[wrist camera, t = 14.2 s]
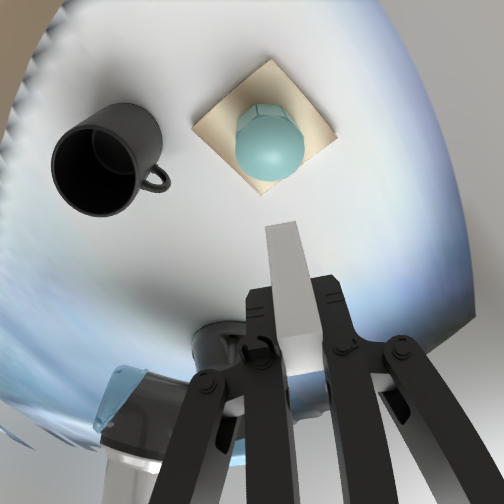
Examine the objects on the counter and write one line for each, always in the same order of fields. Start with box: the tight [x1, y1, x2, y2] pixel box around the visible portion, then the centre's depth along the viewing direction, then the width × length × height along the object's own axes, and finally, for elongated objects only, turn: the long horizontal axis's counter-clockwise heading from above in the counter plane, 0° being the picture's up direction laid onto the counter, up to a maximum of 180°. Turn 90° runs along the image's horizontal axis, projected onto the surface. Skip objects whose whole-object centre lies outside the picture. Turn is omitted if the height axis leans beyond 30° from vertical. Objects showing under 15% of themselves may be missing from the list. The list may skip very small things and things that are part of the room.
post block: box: [191, 59, 338, 195], centre depth 29 cm, size 11×11×5 cm
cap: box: [235, 104, 305, 182], centre depth 28 cm, size 6×6×6 cm
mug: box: [51, 103, 171, 217], centre depth 28 cm, size 9×12×9 cm
